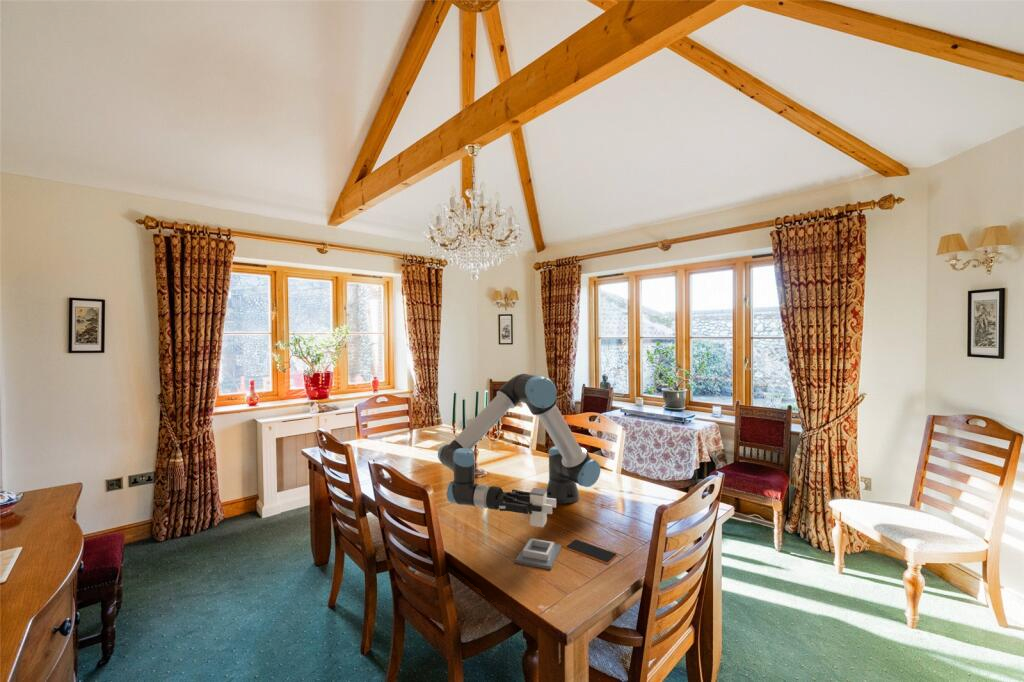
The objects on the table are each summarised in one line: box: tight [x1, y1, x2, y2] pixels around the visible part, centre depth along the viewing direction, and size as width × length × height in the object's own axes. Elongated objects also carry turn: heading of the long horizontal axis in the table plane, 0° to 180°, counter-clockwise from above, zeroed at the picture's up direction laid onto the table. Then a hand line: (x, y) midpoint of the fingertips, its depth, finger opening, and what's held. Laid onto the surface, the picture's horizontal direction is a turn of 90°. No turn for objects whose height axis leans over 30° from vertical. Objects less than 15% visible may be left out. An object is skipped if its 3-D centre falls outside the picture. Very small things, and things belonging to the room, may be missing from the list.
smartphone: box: [564, 538, 619, 565], centre depth 142 cm, size 8×17×1 cm, turn 50°
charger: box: [529, 487, 548, 528], centre depth 140 cm, size 4×4×11 cm
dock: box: [514, 537, 562, 570], centre depth 140 cm, size 14×12×3 cm
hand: (553, 506), depth 138 cm, fingers closed on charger, 4 cm apart
